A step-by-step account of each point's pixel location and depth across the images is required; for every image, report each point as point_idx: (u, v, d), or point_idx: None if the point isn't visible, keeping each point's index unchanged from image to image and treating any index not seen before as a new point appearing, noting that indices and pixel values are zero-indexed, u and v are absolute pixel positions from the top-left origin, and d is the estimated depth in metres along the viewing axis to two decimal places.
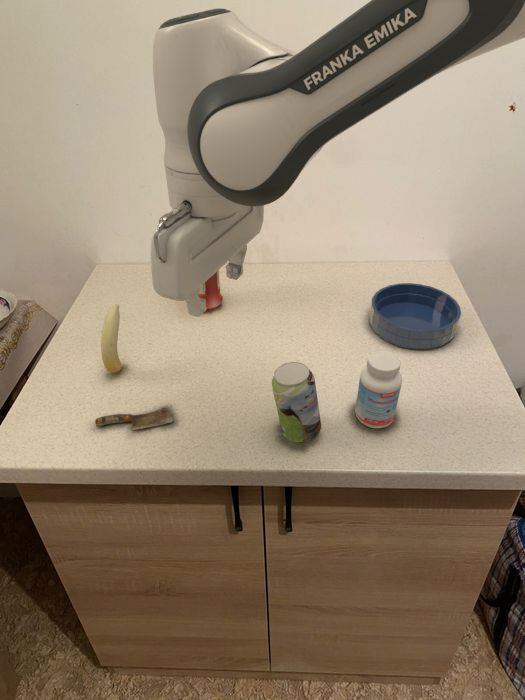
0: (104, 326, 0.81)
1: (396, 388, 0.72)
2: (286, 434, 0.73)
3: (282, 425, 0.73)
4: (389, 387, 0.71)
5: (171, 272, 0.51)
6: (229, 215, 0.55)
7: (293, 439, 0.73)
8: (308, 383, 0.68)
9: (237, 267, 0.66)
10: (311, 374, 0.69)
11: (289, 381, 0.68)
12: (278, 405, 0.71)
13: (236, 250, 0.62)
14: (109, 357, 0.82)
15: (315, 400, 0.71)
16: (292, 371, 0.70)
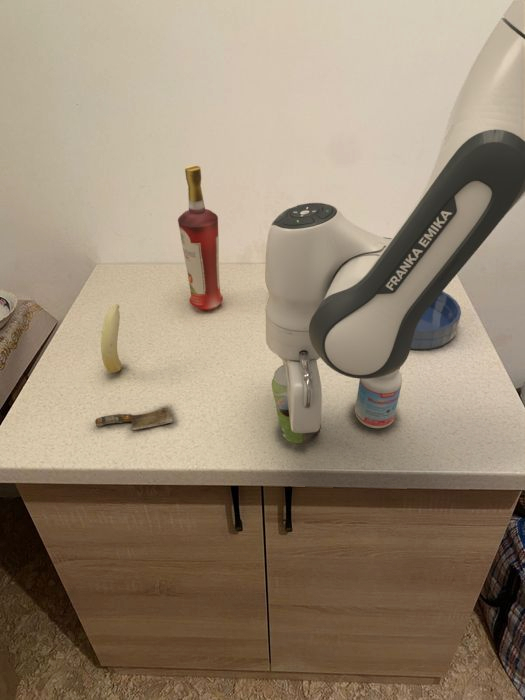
0: (104, 326, 0.81)
1: (396, 388, 0.72)
2: (286, 435, 0.73)
3: (282, 426, 0.73)
4: (389, 387, 0.71)
5: (315, 413, 0.60)
6: None
7: (293, 440, 0.73)
8: None
9: None
10: None
11: None
12: (278, 406, 0.70)
13: None
14: (109, 357, 0.82)
15: None
16: None
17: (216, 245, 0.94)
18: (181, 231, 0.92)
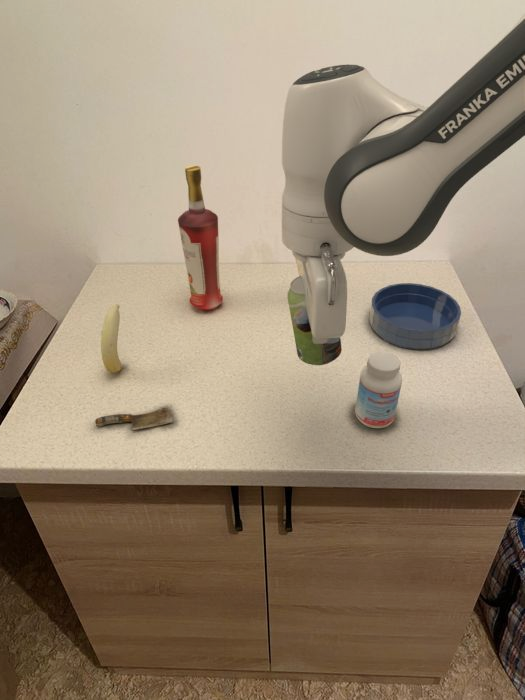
0: (104, 326, 0.81)
1: (396, 388, 0.72)
2: (303, 356, 0.67)
3: (299, 346, 0.66)
4: (389, 387, 0.71)
5: (339, 312, 0.53)
6: None
7: (311, 361, 0.66)
8: None
9: None
10: None
11: None
12: (295, 321, 0.64)
13: None
14: (109, 357, 0.82)
15: None
16: None
17: (216, 245, 0.94)
18: (181, 231, 0.92)
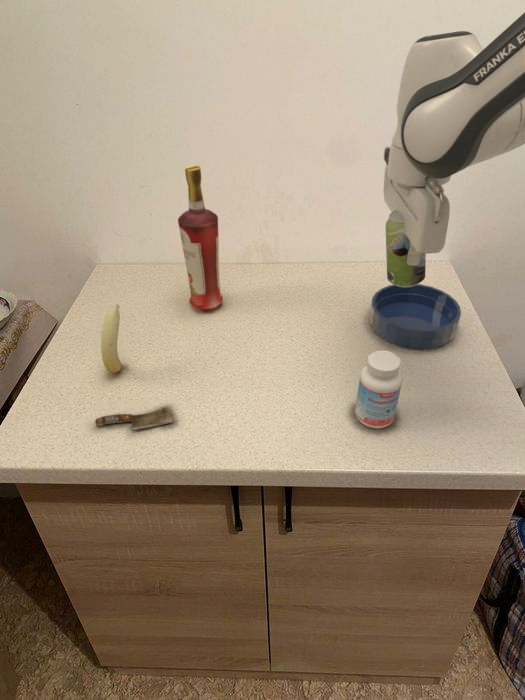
0: (104, 326, 0.81)
1: (396, 388, 0.72)
2: (395, 279, 0.80)
3: (392, 270, 0.80)
4: (389, 387, 0.71)
5: (442, 229, 0.67)
6: None
7: (402, 283, 0.80)
8: None
9: None
10: None
11: None
12: (391, 247, 0.78)
13: None
14: (109, 357, 0.82)
15: None
16: None
17: (216, 245, 0.94)
18: (181, 231, 0.92)
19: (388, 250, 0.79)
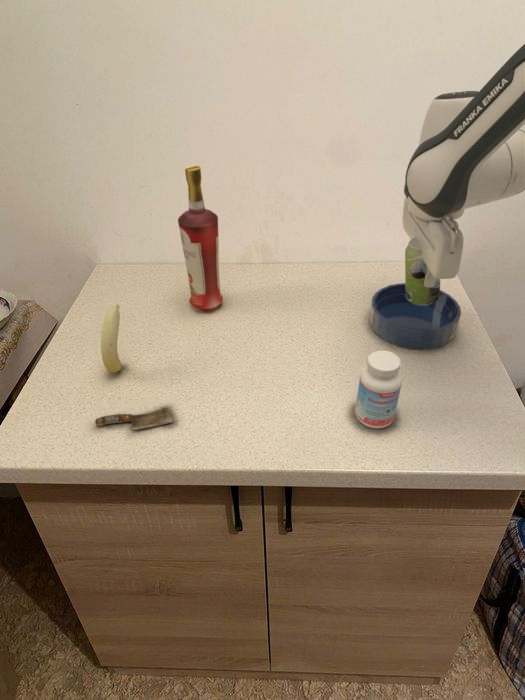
0: (104, 326, 0.81)
1: (396, 388, 0.72)
2: (412, 298, 0.91)
3: (410, 290, 0.90)
4: (389, 387, 0.71)
5: (457, 258, 0.77)
6: None
7: (419, 302, 0.90)
8: None
9: None
10: None
11: None
12: (410, 271, 0.88)
13: None
14: (109, 357, 0.82)
15: None
16: None
17: (216, 245, 0.94)
18: (181, 231, 0.92)
19: (407, 273, 0.89)
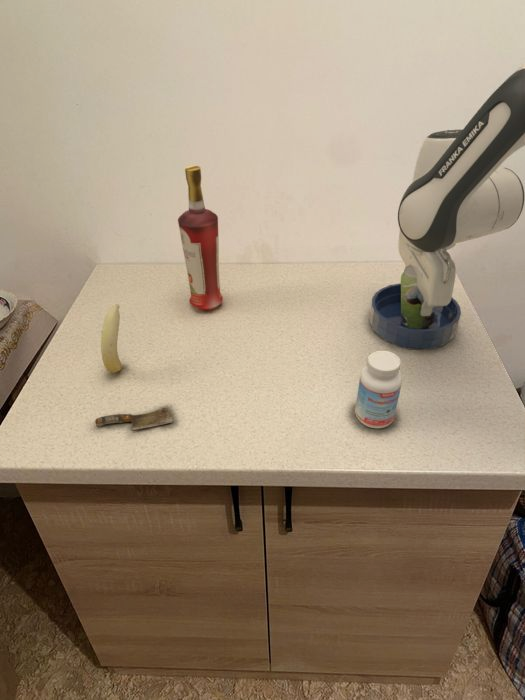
0: (104, 326, 0.81)
1: (396, 388, 0.72)
2: (408, 322, 0.94)
3: (405, 315, 0.93)
4: (389, 387, 0.71)
5: (449, 288, 0.81)
6: None
7: (414, 326, 0.93)
8: None
9: None
10: None
11: None
12: (406, 296, 0.91)
13: None
14: (109, 357, 0.82)
15: None
16: None
17: (216, 245, 0.94)
18: (181, 231, 0.92)
19: (403, 298, 0.92)
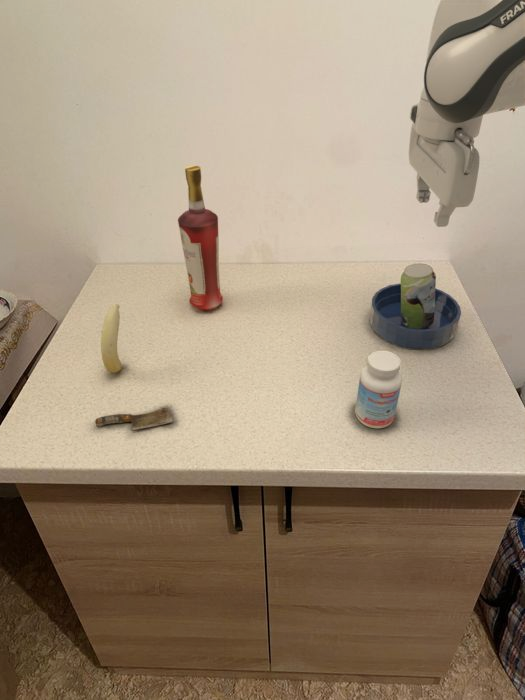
0: (104, 326, 0.81)
1: (396, 388, 0.72)
2: (408, 322, 0.94)
3: (405, 315, 0.93)
4: (389, 387, 0.71)
5: (472, 181, 0.67)
6: None
7: (414, 326, 0.93)
8: (433, 277, 0.88)
9: (429, 191, 0.83)
10: (433, 271, 0.90)
11: (418, 275, 0.88)
12: (406, 296, 0.91)
13: None
14: (109, 357, 0.82)
15: (434, 292, 0.91)
16: (418, 269, 0.90)
17: (216, 245, 0.94)
18: (181, 231, 0.92)
19: (403, 298, 0.92)
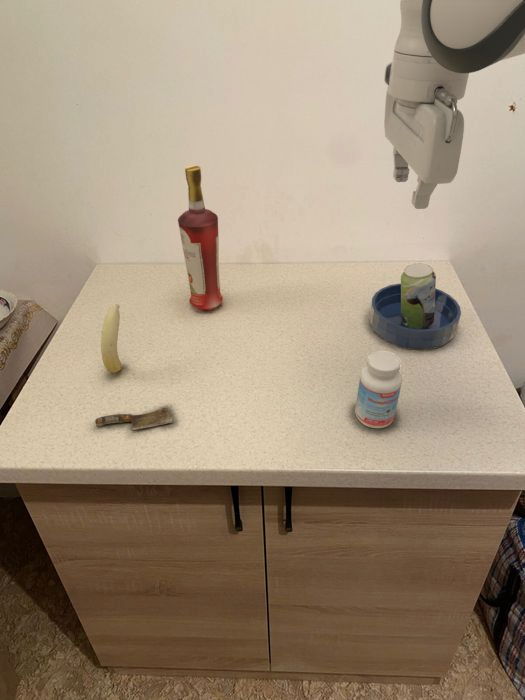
0: (104, 326, 0.81)
1: (396, 388, 0.72)
2: (408, 322, 0.94)
3: (405, 315, 0.93)
4: (389, 387, 0.71)
5: (455, 151, 0.55)
6: None
7: (414, 326, 0.93)
8: (433, 277, 0.88)
9: (407, 168, 0.71)
10: (433, 271, 0.90)
11: (418, 275, 0.88)
12: (406, 296, 0.91)
13: None
14: (109, 357, 0.82)
15: (434, 292, 0.91)
16: (418, 269, 0.90)
17: (216, 245, 0.94)
18: (181, 231, 0.92)
19: (403, 298, 0.92)
